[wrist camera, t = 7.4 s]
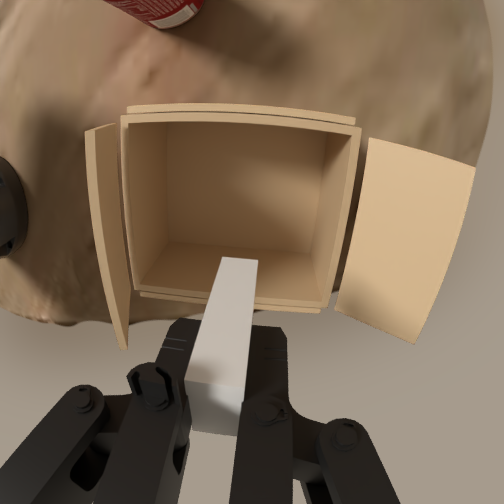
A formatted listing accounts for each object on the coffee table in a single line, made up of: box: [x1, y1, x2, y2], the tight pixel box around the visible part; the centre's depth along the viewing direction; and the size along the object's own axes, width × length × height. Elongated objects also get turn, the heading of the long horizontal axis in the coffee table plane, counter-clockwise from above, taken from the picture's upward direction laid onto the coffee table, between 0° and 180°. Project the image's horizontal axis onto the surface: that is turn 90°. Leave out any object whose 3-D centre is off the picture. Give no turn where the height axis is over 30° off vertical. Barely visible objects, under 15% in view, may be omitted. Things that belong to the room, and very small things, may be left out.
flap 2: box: [334, 138, 476, 344], centre depth 18 cm, size 7×13×1 cm
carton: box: [121, 103, 362, 314], centre depth 24 cm, size 16×15×9 cm
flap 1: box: [85, 123, 131, 350], centre depth 17 cm, size 7×13×1 cm
